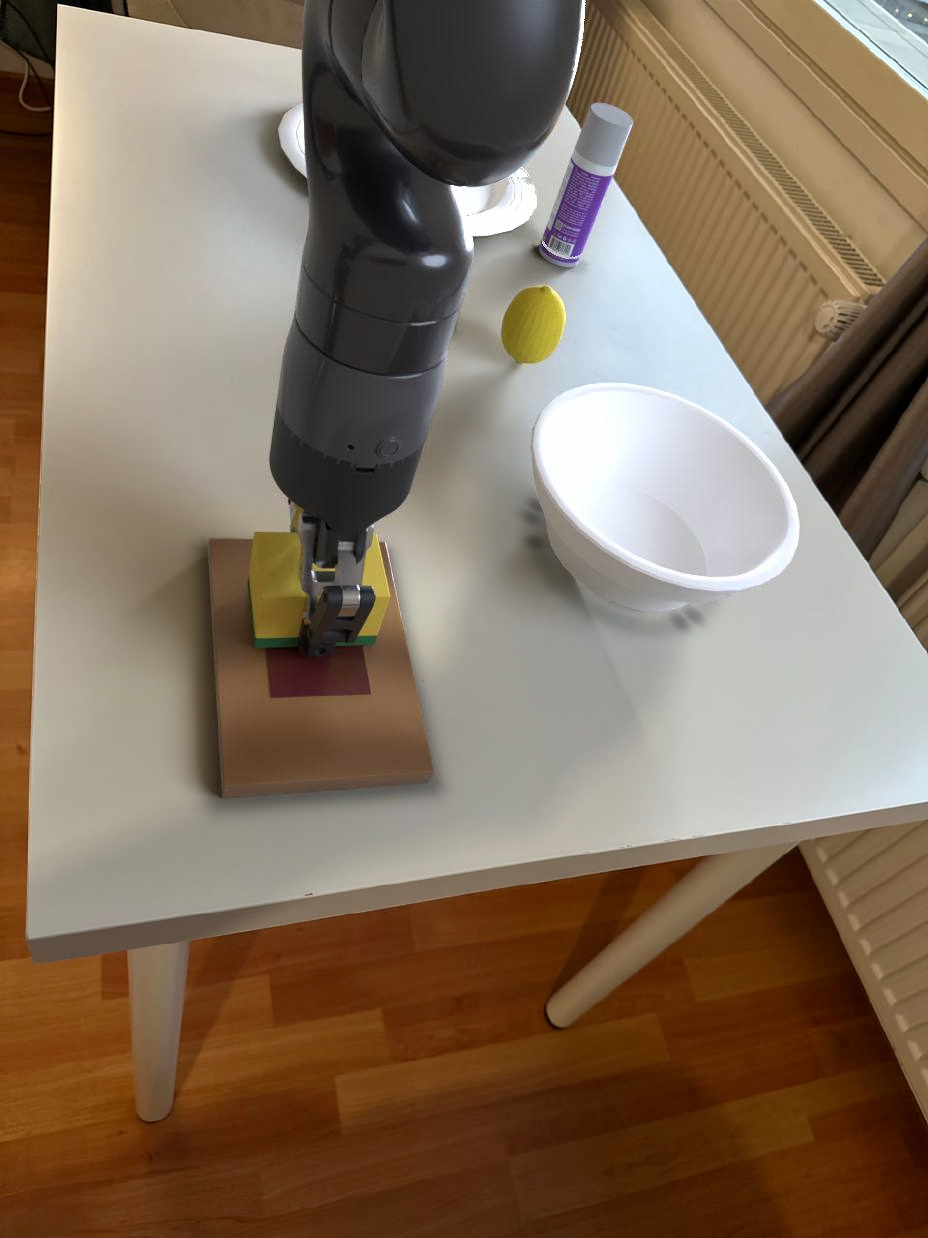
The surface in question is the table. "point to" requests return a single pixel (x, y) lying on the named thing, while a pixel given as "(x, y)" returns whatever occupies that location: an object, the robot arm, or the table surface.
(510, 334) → the lemon
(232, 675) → the board
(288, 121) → the plate
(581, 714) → the table surface
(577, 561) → the bowl
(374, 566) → the sponge
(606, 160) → the container
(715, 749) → the table surface
